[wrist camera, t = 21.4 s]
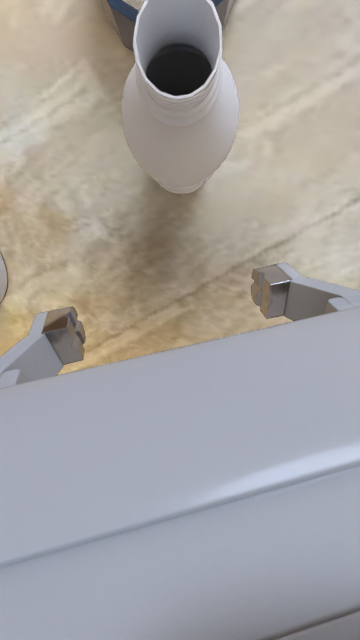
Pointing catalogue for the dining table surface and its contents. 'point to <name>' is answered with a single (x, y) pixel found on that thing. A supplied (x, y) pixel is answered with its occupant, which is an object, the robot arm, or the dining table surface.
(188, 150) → the water bottle
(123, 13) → the dark grey faceted ring
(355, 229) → the dining table surface
